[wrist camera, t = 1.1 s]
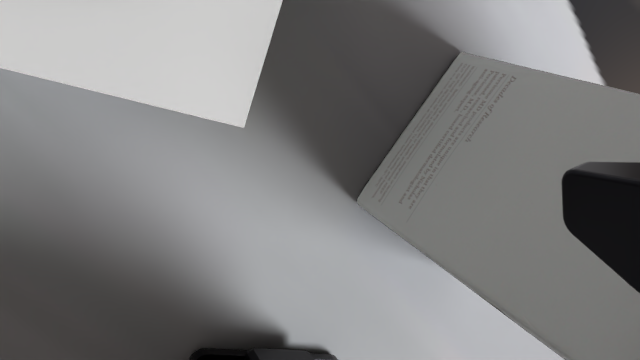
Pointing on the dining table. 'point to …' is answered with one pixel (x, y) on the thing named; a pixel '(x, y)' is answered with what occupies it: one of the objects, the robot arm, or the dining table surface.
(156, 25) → the pale grey box
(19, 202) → the dining table surface
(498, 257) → the supplement box
